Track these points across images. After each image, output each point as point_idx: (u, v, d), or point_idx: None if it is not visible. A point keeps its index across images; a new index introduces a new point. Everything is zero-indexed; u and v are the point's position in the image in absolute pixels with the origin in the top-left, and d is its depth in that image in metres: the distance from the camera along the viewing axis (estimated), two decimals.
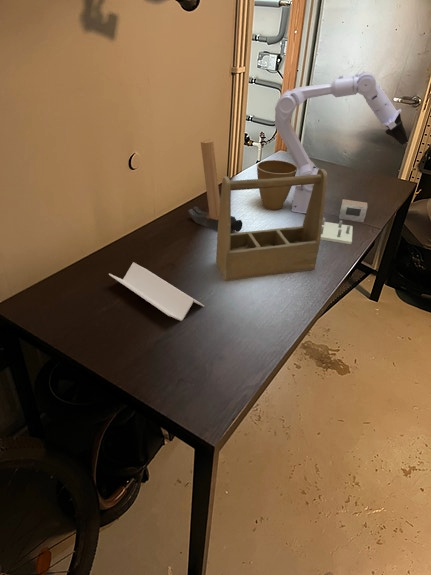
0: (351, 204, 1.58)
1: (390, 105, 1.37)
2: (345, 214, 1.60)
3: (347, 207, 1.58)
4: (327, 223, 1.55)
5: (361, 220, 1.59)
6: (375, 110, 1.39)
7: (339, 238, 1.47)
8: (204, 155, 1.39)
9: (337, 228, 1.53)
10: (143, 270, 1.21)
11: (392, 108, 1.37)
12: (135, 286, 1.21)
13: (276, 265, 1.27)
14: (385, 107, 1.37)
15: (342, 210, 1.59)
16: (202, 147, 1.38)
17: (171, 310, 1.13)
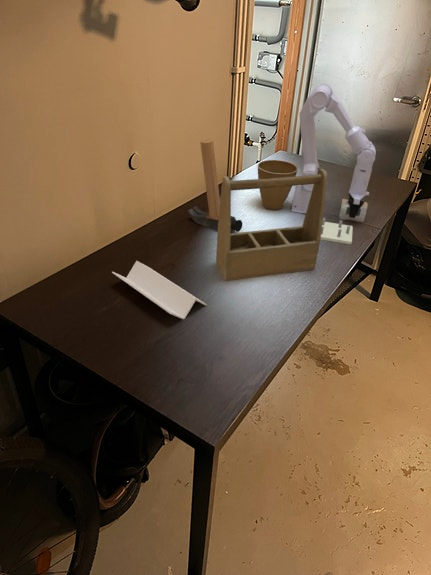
0: None
1: (366, 185, 1.52)
2: (345, 214, 1.60)
3: (347, 207, 1.58)
4: (327, 223, 1.55)
5: (361, 220, 1.59)
6: (355, 179, 1.52)
7: (339, 238, 1.47)
8: (204, 155, 1.39)
9: (337, 228, 1.53)
10: (146, 268, 1.22)
11: (365, 188, 1.53)
12: (138, 284, 1.22)
13: (276, 265, 1.27)
14: (363, 184, 1.51)
15: (342, 210, 1.59)
16: (202, 147, 1.38)
17: (173, 308, 1.14)
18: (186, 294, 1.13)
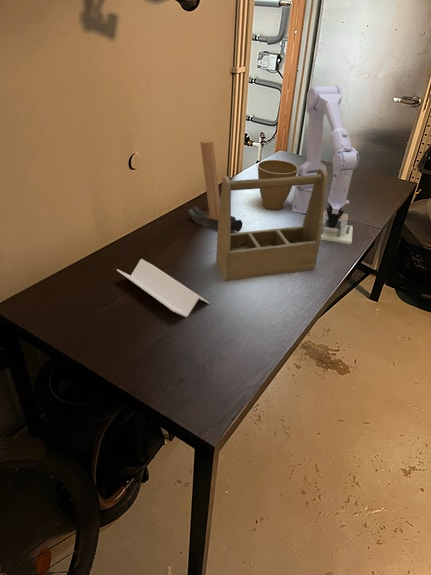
0: None
1: (346, 193, 1.41)
2: (325, 226, 1.49)
3: (326, 219, 1.47)
4: None
5: (341, 233, 1.48)
6: None
7: (339, 238, 1.47)
8: (204, 155, 1.39)
9: None
10: (150, 266, 1.23)
11: (345, 196, 1.41)
12: (142, 282, 1.23)
13: (276, 265, 1.27)
14: (342, 192, 1.40)
15: None
16: (202, 147, 1.38)
17: (177, 306, 1.14)
18: (189, 292, 1.14)
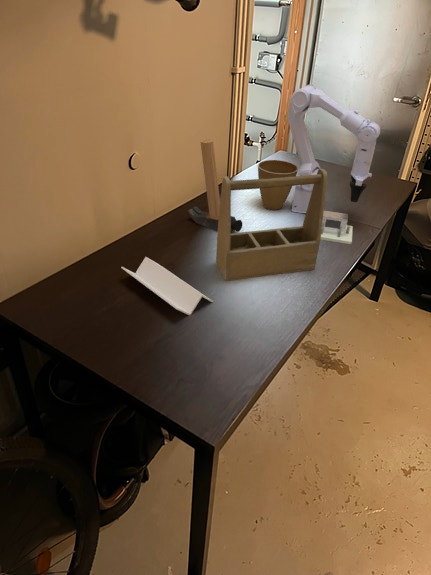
0: (330, 216, 1.47)
1: (369, 166, 1.45)
2: (325, 226, 1.49)
3: (326, 219, 1.47)
4: None
5: (341, 233, 1.48)
6: (356, 159, 1.45)
7: (339, 238, 1.47)
8: (204, 155, 1.39)
9: None
10: (155, 264, 1.24)
11: (368, 169, 1.46)
12: (146, 280, 1.24)
13: (276, 265, 1.27)
14: (365, 164, 1.44)
15: None
16: (202, 147, 1.38)
17: (180, 304, 1.15)
18: (193, 290, 1.14)
